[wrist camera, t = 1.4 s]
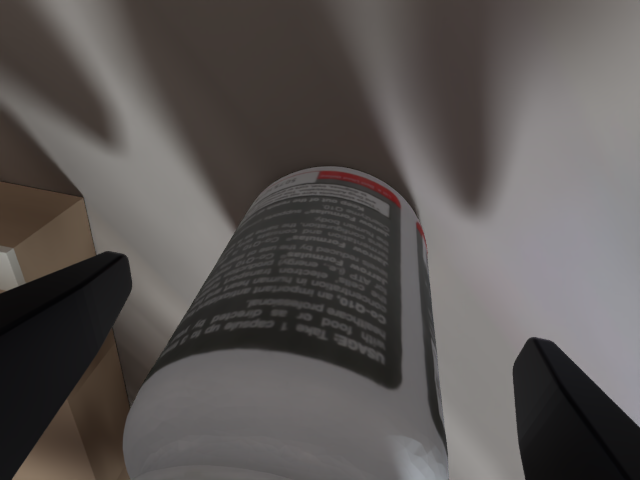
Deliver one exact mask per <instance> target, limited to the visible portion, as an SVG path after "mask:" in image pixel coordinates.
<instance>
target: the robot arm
mask: <svg viewBox="0 0 640 480" xmlns="http://www.w3.org/2000/svg"><path fill="white" fill-rule="evenodd" d="M131 289H132V278H131V273H130V267H129V261H128V258H127V256H126V255H124V254H121V253H116V252H111V251H106V252H103V253H101V254H98V255H96V256H93V257H91V258H88V259H86V260H83V261H81V262H78V263H76V264H73V265H71V266H68V267H66V268H63V269H60V270H58V271H55V272H53V273H50V274H48V275H45V276H43V277H40V278H38V279H35V280H33V281H30V282H28V283H25V284H23V285H20V286H18V287H15V288H13V289H10V290H8V291H5V292H3V293H0V480H12V479H13V477H14V476H15V474H16V473H17V471H18V470H19V468H20V467H21V465H22V464H23V462H24V461H25V459H26V458H27V457H28V455H29V454H30V452H31V451H32V449H33V448H34V446H35V445H36V443H37V442H38V440H39V439H40V437H41V436H42V434H43V433H44V432H45V430H46V429H47V427H48V426H49V424H50V423H51V421H52V420H53V418H54V417H55V415H56V414H57V412H58V411H59V410H60V408H61V407H62V405H63V404H64V402H65V401H66V399H67V398H68V396H69V395H70V393H71V392H72V390H73V389H74V387H75V386H76V385H77V383H78V382H79V380H80V379H81V377H82V376H83V374H84V373H85V371H86V370H87V368H88V367H89V365H90V364H91V362H92V361H93V359H94V358H95V356H96V355H97V353H98V352H99V350H100V348H101V347H102V345H103V343H104V341H105V340H106V338H107V336H108V334H109V332H110V330H111V328H112V326H113V325H114V323H115V321H116V319H117V317H118V315H119V313H120V311H121V309H122V308H123V306H124V304H125V302H126V300H127V298H128V296H129V294H130V292H131ZM513 384H514V397H515V409H516V422H517V433H518V442H519V449H520V454H521V460H522V465H523V470H524V475H525V480H640V427H639V426H638V425H637V424H636V423H635V422H634V421H633V420H632V419H631V418H630V417H629V416H628V415H627V414H626V413H625V412H624V411H623V410H622V409H621V408H619V407H618V406H617V405H616V404H615V403H614V402H613V401H612V400H611V399H610V398H609V397H608V396H607V395H606V394H605V393H604V392H603V391H602V390H601V389H600V388H599V387H598V386H597V385H596V384H595V383H594V382H593V381H592V380H591V379H590V378H589V377H588V376H587V375H586V374H585V373H584V372H583V371H582V370H581V369H580V368H579V367H578V366H577V365H576V364H575V363H574V362H573V361H572V360H571V359H570V358H569V357H568V356H567V355H566V354H565V353H564V352H563V351H562V350H561V349H560V348H559V347H558V346H557V345H556V344H555V343H554V342H552V341H550V340H546V339H541V338H536V337H531V338H529V339H528V340H527V342H526V343H525V345H524V347H523V348H522V350H521V352H520V354H519V355H518V357H517V359H516V360H515V363H514V366H513Z"/></svg>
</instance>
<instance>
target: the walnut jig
mask: <svg viewBox="0 0 640 480" xmlns="http://www.w3.org/2000/svg"><path fill="white" fill-rule="evenodd" d="M93 256H96V253H95V248H94V244H93V239H92V235H91V230H90V226H89V221H88V217H87V212H86V208H85V203H84V199H83V197H78V196H72V195H67V194H62V193H57V192H52V191H47V190H42V189H36V188H31V187H26V186H21V185H16V184H11V183H6V182H0V293H3V292H5V291H8V290H10V289H13V288H15V287H18V286H20V285H23V284H25V283H28V282H30V281H33V280H35V279H38V278H40V277H43V276H45V275H48V274H50V273H53V272H55V271H58V270H60V269H63V268H66V267H68V266H71V265H73V264H76V263H78V262H81V261H83V260H86V259H88V258H91V257H93ZM129 411H130V406H129V401H128V397H127V392H126V388H125V383H124V379H123V374H122V370H121V365H120V361H119V356H118V352H117V347H116V343H115V338H114V334H113V329H112V328H111V330H110V332H109V334H108V336H107V338H106V340H105V341H104V343H103V345H102V347H101V348H100V350H99V352H98V353H97V355H96V356H95V358H94V359H93V361H92V362H91V364H90V365H89V367H88V368H87V370H86V371H85V373H84V374H83V376H82V377H81V379H80V380H79V382H78V383H77V385H76V386H75V387H74V389H73V390H72V392H71V393H70V395H69V396H68V398H67V399H66V401H65V402H64V404H63V405H62V407H61V408H60V410H59V411H58V412H57V414H56V415H55V417H54V418H53V420H52V421H51V423H50V424H49V426H48V427H47V429H46V430H45V432H44V433H43V434H42V436H41V437H40V439H39V440H38V442H37V443H36V445H35V446H34V448H33V449H32V451H31V452H30V454H29V455H28V457H27V458H26V459H25V461H24V462H23V464H22V465H21V467H20V468H19V470H18V471H17V473H16V474H15V476H14V477H13V479H12V480H131V479H130V477H129V475H128V472H127V469H126V465H125V460H124V454H123V434H124V427H125V423H126V418H127V416H128V413H129Z"/></svg>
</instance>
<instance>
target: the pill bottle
mask: <svg viewBox="0 0 640 480" xmlns="http://www.w3.org/2000/svg"><path fill="white" fill-rule="evenodd" d="M123 454H124V460H125V465H126V469H127V472H128V475H129V477H130V479H131V480H449V474H448V452H447V442H446V435H445V427H444V418H443V409H442V400H441V390H440V380H439V371H438V359H437V350H436V340H435V331H434V322H433V313H432V302H431V290H430V282H429V269H428V258H427V246H426V240H425V236H424V232H423V229H422V227H421V224H420V222H419V220H418V218H417V216H416V214H415V213H414V211H413V209H412V208H411V207H410V205H409V204H408V203H407V201H406V200H405V199H404V198H403V197H402V196H401V195H400V194H399V193H398V192H397V191H396V190H394V189H393V188H392V187H390V186H389V185H388V184H386V183H385V182H383V181H381V180H379V179H377V178H375V177H373V176H371V175H369V174H367V173H364V172H361V171H358V170H354V169H350V168H345V167H337V166H322V167H313V168H308V169H304V170H300V171H297V172H294V173H291V174H289V175H287V176H284V177H282V178H280V179H279V180H277V181H275V182H274V183H272V184H271V185H270V186H268V187H267V188H266V189H265V190H264V191H263V192H262V193H261V194H260V195H259V196H258V197H257V198H256V200H255V201H254V202H253V204H252V205H251V207H250V208H249V210H248V211H247V213H246V215H245V216H244V218H243V220H242V221H241V222H240V224H239V227H238V228H237V230H236V232H235V233H234V235H233V236H232V238H231V240H230V241H229V243H228V245H227V246H226V248H225V250H224V251H223V253H222V255H221V256H220V258H219V260H218V262H217V263H216V265H215V267H214V268H213V270H212V272H211V273H210V275H209V276H208V278H207V280H206V281H205V283H204V284H203V286H202V288H201V289H200V291H199V293H198V294H197V296H196V298H195V299H194V301H193V303H192V304H191V306H190V308H189V309H188V311H187V313H186V314H185V316H184V317H183V319H182V321H181V322H180V324H179V326H178V327H177V329H176V330H175V332H174V334H173V335H172V337H171V339H170V340H169V342H168V344H167V345H166V347H165V349H164V350H163V352H162V354H161V355H160V357H159V358H158V360H157V362H156V363H155V365H154V366H153V368H152V369H151V371H150V373H149V374H148V376H147V378H146V379H145V381H144V383H143V384H142V386H141V388H140V390H139V392H138V394H137V396H136V398H135V400H134V402H133V404H132V406H131V408H130V411H129V413H128V416H127V418H126V423H125V427H124V434H123Z"/></svg>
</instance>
